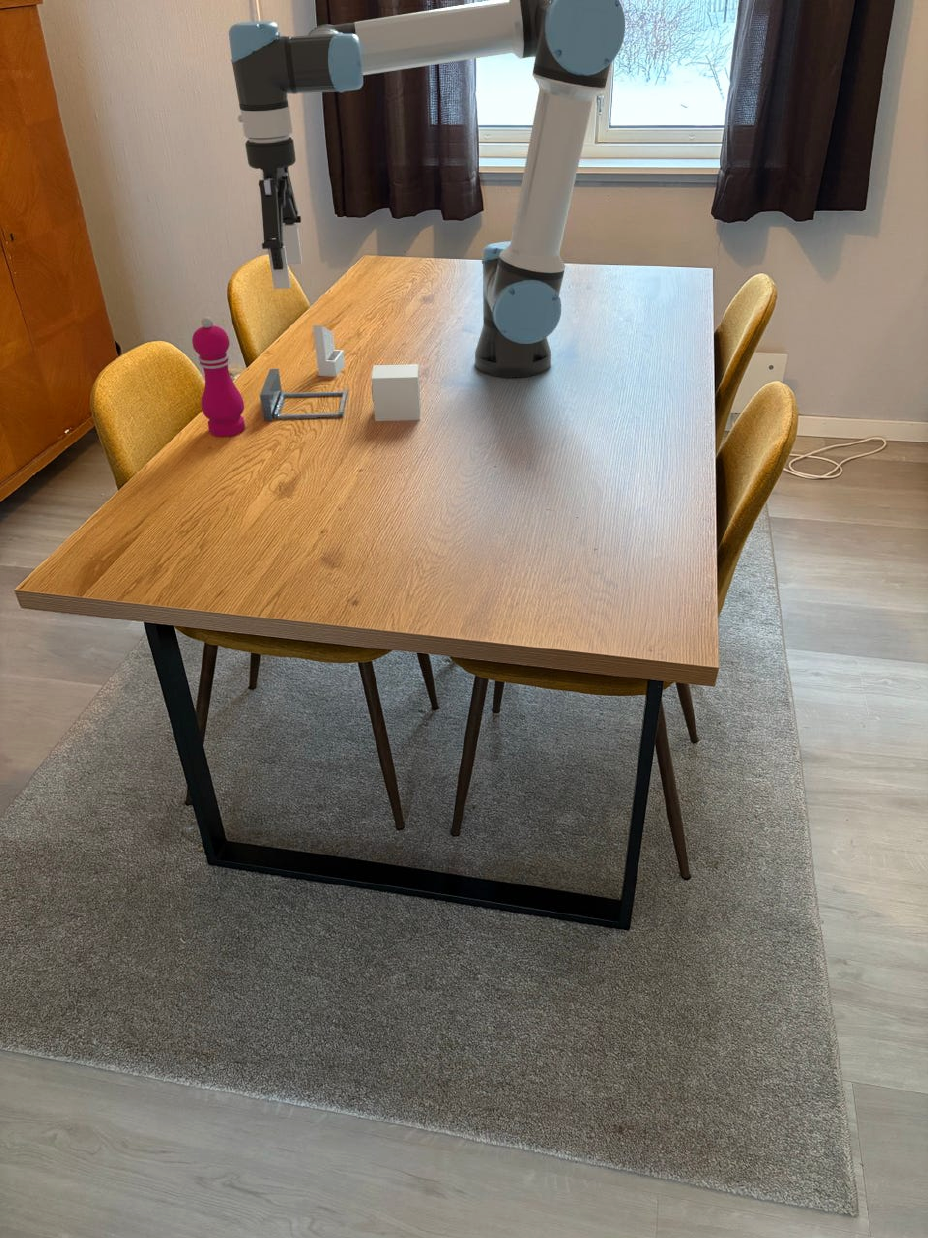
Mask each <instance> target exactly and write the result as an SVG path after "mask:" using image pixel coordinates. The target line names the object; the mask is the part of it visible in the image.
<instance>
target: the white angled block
mask: <svg viewBox="0 0 928 1238" xmlns="http://www.w3.org/2000/svg"><path fill="white" fill-rule="evenodd" d="M312 329H313V337H314V338H313V339H314V345H315V346H314V347H315V354H316V355H315V356H316V365H317V370H318V376H319V377H334V378H337V377H338V376H339V375H340V373H341V372H342V371H343V370H344V368H345V367H346V360H345V350H340V349H339V350H338V349H336V347H335V339H334V338H335V337H334V336H335V335H334V332H333V331H331V330H330V329H328V328H326V327H324V326H323V325H312Z"/></svg>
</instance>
